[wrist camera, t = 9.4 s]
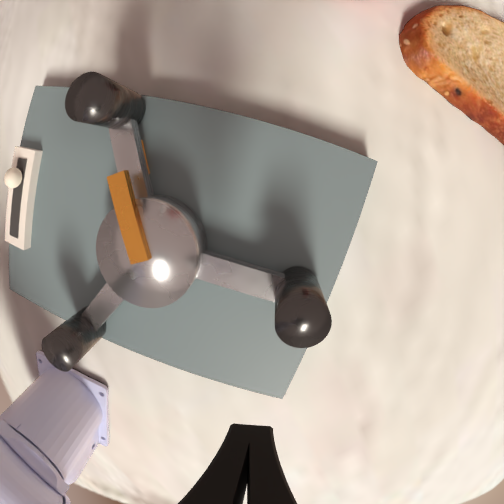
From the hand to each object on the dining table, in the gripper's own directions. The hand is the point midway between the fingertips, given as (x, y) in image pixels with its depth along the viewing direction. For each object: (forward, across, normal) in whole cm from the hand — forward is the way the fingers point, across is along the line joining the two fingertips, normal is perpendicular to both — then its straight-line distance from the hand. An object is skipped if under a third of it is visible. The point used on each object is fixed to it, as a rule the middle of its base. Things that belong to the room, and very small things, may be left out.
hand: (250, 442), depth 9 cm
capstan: (+9, +7, -7) cm, 13 cm away
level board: (+10, +7, -5) cm, 14 cm away
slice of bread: (+11, -19, -17) cm, 28 cm away
